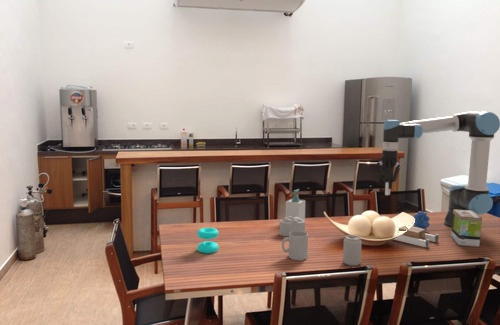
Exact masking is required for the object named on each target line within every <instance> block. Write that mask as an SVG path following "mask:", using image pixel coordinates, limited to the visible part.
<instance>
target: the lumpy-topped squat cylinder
mask: <svg viewBox="0 0 500 325" xmlns="http://www.w3.org/2000/svg"><path fill="white" fill-rule="evenodd" d="M292 231H304V232H306V220H305V221H304V220H302V219H301V218H299V217H293V218H292V217H291V216H288V217H286V218H285V217H283V219H280V221H279V235H280V236H281V235H282V237H286V236H289V233H290V232H292Z"/></svg>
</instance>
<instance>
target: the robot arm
mask: <svg viewBox="0 0 500 325" xmlns="http://www.w3.org/2000/svg"><path fill="white" fill-rule="evenodd" d="M382 128H383V136H382V138H383V140H382V149H383V150H382V153H381V160H380V161H377V162H376V165H377V168H378V171H379V177H380V181H382V182H383V188H384V190H385V191H384V195H385V196H390V195H391V190H392V188H393V184H394V183H396V182H397V179H398V175H399V173H400V169H402V168H401V167H402V166H403V165H402V164H400V162H399V161H398V155H399V154H398V150H399V139H400V140H401V139H407V140H409V139H420V138H422V136H423V134H430V133H439V132H446V131H452V132H465V133H466V132H467V133H468V138H469V139H470V140H471V144H470V147H471V148H470V160H469V168H468V178H467V179H468V181H467V184H452V185H450V187H449V190H448V192H449V195H448V209H447V212H446V214H445V217H444V219H443V220H444V221H443V223H444V225H447V226H449V227H452V217H453V210H471V211H474V212H475V213H477V214H478V215H479V216H482V215H484V214H487V213H488V212H489V211H490V210H491V209H492V207H493V204H494V200H493V198H492V197H491V195H490V189H489V188H488V186H487V180H488V169H489V168H488V167H489V160H490V159H489V158H490V148H491V141H492V140H494V139H495V134H496V133H497V132H498V131H499V130H500V118H499V117H498V115H497V114H496V113H494V112H493V111H492V112H491V111H486V110H484V111H482V110H481V111H480V110H470V111H465V112H460V113H453V114H451V115H450V116H444V117H436V118H428V119H420V120H418V119H417V120H411V121H404V122H402V121H401V122H400V120H398V119H386V120H384V123H383V127H382Z"/></svg>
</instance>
